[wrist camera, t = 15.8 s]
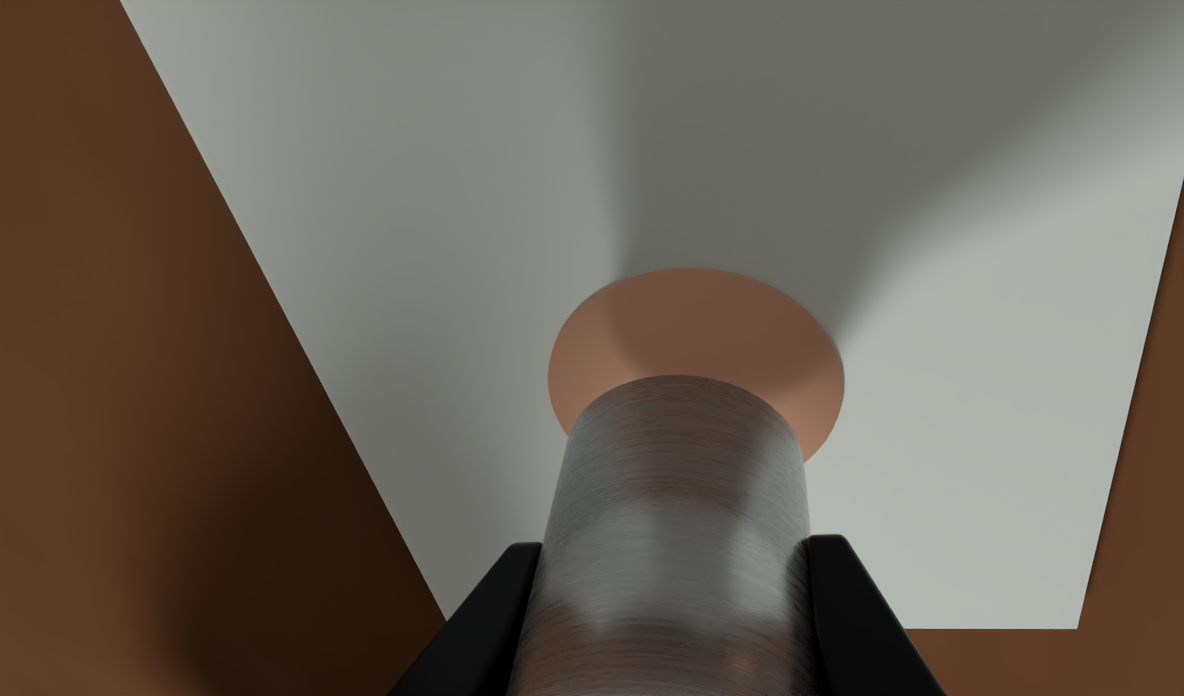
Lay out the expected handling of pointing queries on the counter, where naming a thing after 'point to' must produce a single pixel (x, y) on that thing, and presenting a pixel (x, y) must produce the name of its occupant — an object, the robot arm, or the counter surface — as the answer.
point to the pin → (674, 552)
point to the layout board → (715, 250)
